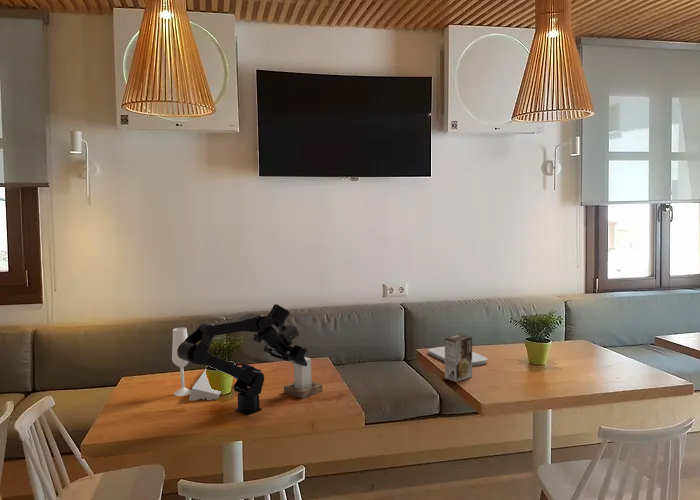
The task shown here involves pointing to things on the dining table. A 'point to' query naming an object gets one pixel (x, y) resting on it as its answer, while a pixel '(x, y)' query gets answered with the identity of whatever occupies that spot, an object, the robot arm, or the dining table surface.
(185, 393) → the champagne flute
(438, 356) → the tablet
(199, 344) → the robot arm
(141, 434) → the dining table surface
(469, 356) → the coffee box
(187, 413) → the dining table surface
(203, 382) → the decorative molding
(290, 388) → the rectangular frame
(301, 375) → the clay block
